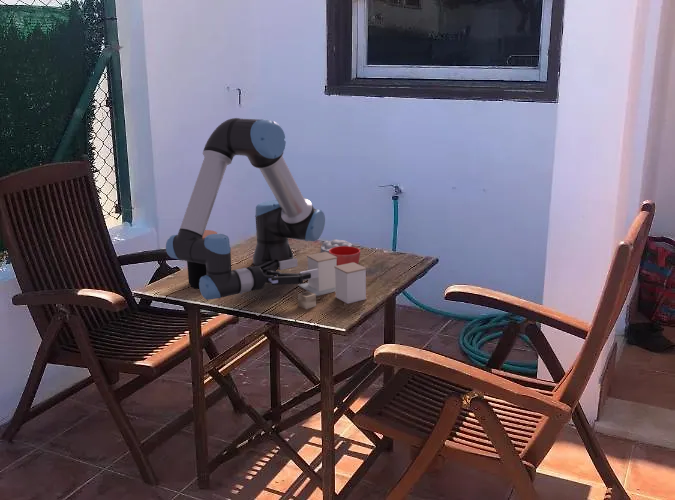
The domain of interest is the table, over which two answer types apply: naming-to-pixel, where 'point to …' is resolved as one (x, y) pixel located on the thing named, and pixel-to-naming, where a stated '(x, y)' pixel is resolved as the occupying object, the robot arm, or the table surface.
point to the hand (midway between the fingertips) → (307, 267)
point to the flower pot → (345, 254)
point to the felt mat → (312, 290)
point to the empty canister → (350, 282)
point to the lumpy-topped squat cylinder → (333, 245)
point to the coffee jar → (197, 267)
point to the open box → (307, 300)
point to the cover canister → (322, 270)
